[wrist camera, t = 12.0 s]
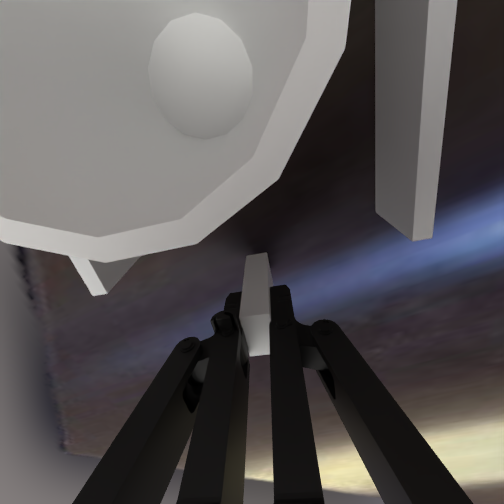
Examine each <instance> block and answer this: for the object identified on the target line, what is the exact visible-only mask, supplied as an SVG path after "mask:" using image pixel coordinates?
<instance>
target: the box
mask: <svg viewBox="0 0 504 504" xmlns="http://www.w3.org/2000/svg"><path fill="white" fill-rule="evenodd" d="M456 9H457V0H375V212H376V213H377V214H378V215H380V216H381V217H382V218H383V219H385V220H386V221H387V222H388V223H390V224H391V225H392V226H393V227H395V228H396V229H397V230H399V231H400V232H401V233H402V234H404V235H405V236H406V237H407V238H409V239H410V240H411V241H418V240H424V239H430V238H432V236H433V226H434V217H435V207H436V198H437V188H438V179H439V169H440V160H441V151H442V141H443V132H444V122H445V113H446V103H447V94H448V84H449V75H450V66H451V56H452V47H453V37H454V28H455V18H456ZM69 257H70V259H71V260H72V262H73V264H74V265H75V267H76V269H77V270H78V272H79V274H80V275H81V277H82V279H83V280H84V282H85V284H86V285H87V287H88V289H89V290H90V292H91V294H92V295H93V296H96V295H102V294H107V293H108V292H109V291H110V290H111V289H112V288H113V287H114V286H115V284H116V283H117V282H118V281H119V280H120V279H121V278H122V277H123V275H124V274H125V273H126V272H127V271H128V270H129V269H130V268H131V267H132V265H133V264H134V263H135V262H136V261H137V260H138V259H139V258H140V256H136V257H132V258H127V259H122V260H117V261H113V262H108V263H104V262H99V261H94V260H89V259H84V258H79V257H74V256H69Z"/></svg>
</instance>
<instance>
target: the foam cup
mask: <svg viewBox="0 0 504 504" xmlns="http://www.w3.org/2000/svg"><path fill="white" fill-rule="evenodd" d="M350 5H351V0H0V240H1V241H3V242H4V243H8V244H13V245H18V246H23V247H28V248H33V249H38V250H43V251H48V252H53V253H58V254H63V255H69V256H74V257H79V258H84V259H89V260H94V261H99V262H104V263H108V262H113V261H117V260H122V259H127V258H132V257H136V256H141V255H146V254H151V253H156V252H160V251H165V250H170V249H175V248H180V247H184V246H189V245H194V244H197V243H199V242H200V241H201V240H202V239H204V238H205V237H206V236H207V235H209V234H210V233H211V232H212V231H214V230H215V229H216V228H218V227H219V226H220V225H221V224H223V223H224V222H225V221H226V220H228V219H229V218H230V217H231V216H233V215H234V214H235V213H236V212H238V211H239V210H240V209H242V208H243V207H244V206H245V205H247V204H248V203H249V202H250V201H252V200H253V199H254V198H255V197H257V196H258V195H259V194H260V193H262V192H263V191H264V190H266V189H267V188H268V187H269V186H271V185H272V184H273V183H274V182H276V181H277V180H278V179H279V177H280V175H281V173H282V171H283V169H284V168H285V166H286V164H287V162H288V160H289V158H290V156H291V154H292V152H293V150H294V148H295V146H296V144H297V142H298V140H299V138H300V136H301V134H302V132H303V130H304V128H305V126H306V124H307V122H308V120H309V118H310V116H311V114H312V113H313V111H314V109H315V107H316V105H317V103H318V101H319V99H320V97H321V95H322V93H323V91H324V89H325V87H326V85H327V83H328V81H329V79H330V77H331V75H332V73H333V71H334V69H335V67H336V65H337V63H338V61H339V59H340V58H341V56H342V54H343V52H344V50H345V46H346V38H347V29H348V21H349V13H350Z"/></svg>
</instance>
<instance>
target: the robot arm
mask: <svg viewBox="0 0 504 504" xmlns="http://www.w3.org/2000/svg"><path fill="white" fill-rule="evenodd" d="M211 324H212V327H213V330H214V332H215V334H214V335H213V336H212V337H210V338H208V339H205V340H203V341H200V340H199V339H198V338H196V337H188V338H185V339H183V340H182V341H180V342H179V343H178V344H177V345H176V347H175V348H174V350H173V351H172V353H171V354H170V356H169V357H168V359H167V360H166V362H165V363H164V365H163V366H162V368H161V369H160V371H159V372H158V374H157V375H156V377H155V379H154V380H153V382H152V383H151V385H150V386H149V388H148V389H147V391H146V392H145V394H144V395H143V397H142V398H141V400H140V401H139V403H138V404H137V406H136V407H135V409H134V410H133V412H132V414H131V415H130V417H129V418H128V420H127V421H126V423H125V424H124V426H123V427H122V429H121V430H120V432H119V433H118V435H117V436H116V438H115V439H114V441H113V442H112V444H111V445H110V447H109V449H108V450H107V452H106V453H105V455H104V456H103V458H102V459H101V461H100V462H99V464H98V465H97V467H96V468H95V470H94V471H93V473H92V475H91V476H90V477H89V479H88V480H87V482H86V484H85V485H84V487H83V488H82V490H81V491H80V493H79V494H78V496H77V497H76V499H75V500H74V502H73V503H72V504H160V503H161V501H162V499H163V496H164V494H165V492H166V490H167V487H168V485H169V482H170V480H171V478H172V476H173V473H174V471H175V469H176V467H177V464H178V462H179V460H180V457H181V455H182V453H183V450H184V448H185V446H186V444H187V441H188V439H189V437H190V434H191V432H192V430H193V432H192V437H191V441H190V446H189V450H188V455H187V459H186V464H185V468H184V473H183V477H182V482H181V486H180V491H179V496H178V500H177V503H176V504H243V495H244V475H245V454H246V434H247V413H248V392H249V371H250V364H249V359H248V351H249V354H250V356H258V355H267V354H270V374H271V407H272V441H273V475H274V504H324V498H323V491H322V485H321V479H320V473H319V467H318V460H317V454H316V448H315V442H314V436H313V429H312V423H311V417H310V411H309V405H308V398H307V392H306V386H305V380H304V374H303V367H305V368H311V369H316V371H317V373H318V375H319V377H320V379H321V381H322V383H323V385H324V387H325V389H326V391H327V393H328V395H329V397H330V399H331V401H332V403H333V404H334V406H335V408H336V410H337V412H338V414H339V416H340V418H341V420H342V422H343V424H344V426H345V428H346V430H347V432H348V434H349V436H350V437H351V439H352V441H353V443H354V445H355V447H356V449H357V451H358V453H359V455H360V457H361V459H362V461H363V463H364V465H365V467H366V469H367V470H368V472H369V474H370V476H371V478H372V480H373V482H374V484H375V486H376V488H377V490H378V492H379V494H380V496H381V498H382V500H383V502H384V503H385V504H473V503H472V501H471V500H470V499H469V497H468V496H467V495H466V493H465V492H464V491H463V489H462V488H461V487H460V486H459V484H458V483H457V482H456V480H455V479H454V478H453V476H452V475H451V474H450V472H449V471H448V470H447V468H446V467H445V466H444V464H443V463H442V462H441V460H440V459H439V458H438V456H437V455H436V454H435V453H434V451H433V450H432V449H431V447H430V446H429V445H428V443H427V442H426V441H425V439H424V438H423V437H422V435H421V434H420V433H419V431H418V430H417V429H416V427H415V426H414V425H413V423H412V422H411V421H410V419H409V418H408V417H407V416H406V414H405V413H404V412H403V410H402V409H401V408H400V406H399V405H398V404H397V402H396V401H395V400H394V398H393V397H392V396H391V394H390V393H389V392H388V390H387V389H386V388H385V386H384V385H383V384H382V383H381V381H380V380H379V379H378V377H377V376H376V375H375V373H374V372H373V371H372V369H371V368H370V367H369V365H368V364H367V363H366V361H365V360H364V359H363V357H362V356H361V355H360V353H359V352H358V351H357V350H356V348H355V347H354V346H353V344H352V343H351V342H350V340H349V339H348V338H347V336H346V335H345V334H344V332H343V331H342V330H341V328H340V327H339V326H338V325H337V324H336V323H335V322H333V321H331V320H325V319H324V320H318V321H316V322H314V323H313V325H312V326H307V325H303V324H301V323H299V322H297V321H296V319H295V317H294V312H293V306H292V300H291V294H290V289H289V288H288V287H287V286H286V285H280V286H273V281H272V276H271V271H270V266H269V260H268V255H267V252H266V253H260V254H254V255H247V256H246V263H245V271H244V280H243V288H242V292H236V293H230V294H229V296H228V297H227V298H226V302H225V306H224V311H221V312H218V313H217V314H215V315H214V316H213V317H212V319H211ZM193 427H194V428H193Z"/></svg>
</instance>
